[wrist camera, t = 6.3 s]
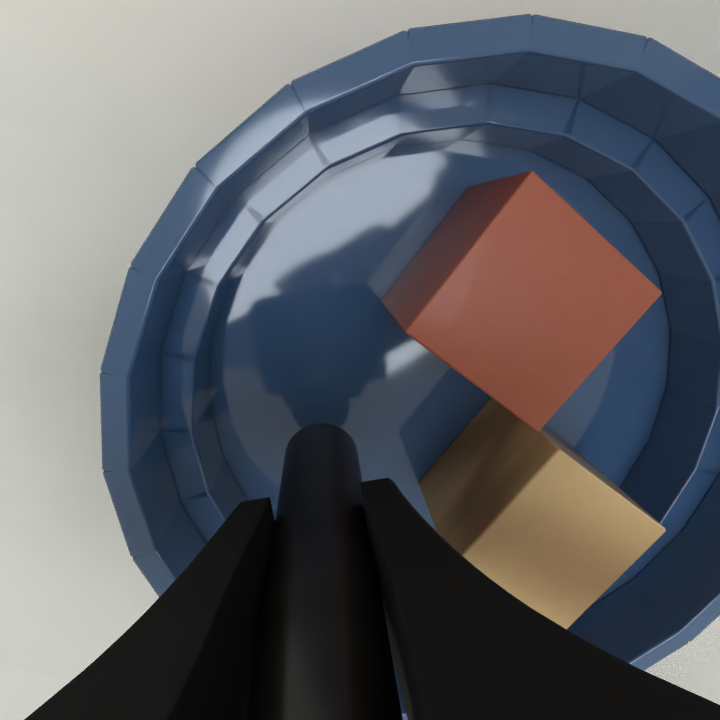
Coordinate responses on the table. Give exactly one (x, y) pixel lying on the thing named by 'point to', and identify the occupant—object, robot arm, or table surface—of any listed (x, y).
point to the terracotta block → (519, 295)
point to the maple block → (534, 514)
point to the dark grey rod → (322, 595)
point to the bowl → (387, 262)
